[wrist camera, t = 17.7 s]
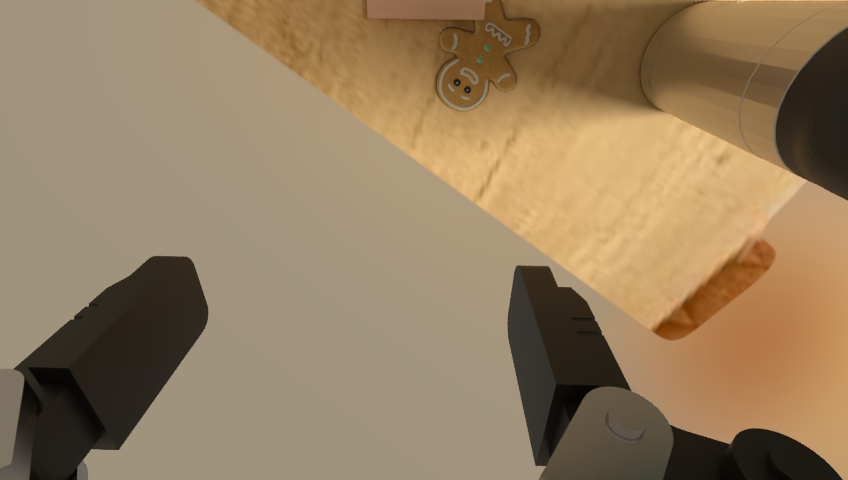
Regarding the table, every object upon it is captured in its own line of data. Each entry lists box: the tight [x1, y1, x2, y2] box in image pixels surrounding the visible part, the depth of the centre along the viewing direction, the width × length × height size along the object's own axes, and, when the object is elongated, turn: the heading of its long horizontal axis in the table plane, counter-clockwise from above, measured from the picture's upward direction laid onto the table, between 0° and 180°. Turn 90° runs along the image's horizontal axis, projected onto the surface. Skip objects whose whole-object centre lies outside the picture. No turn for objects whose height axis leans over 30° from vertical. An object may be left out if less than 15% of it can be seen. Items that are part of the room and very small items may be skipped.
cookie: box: [436, 0, 540, 111], centre depth 37 cm, size 8×1×10 cm
